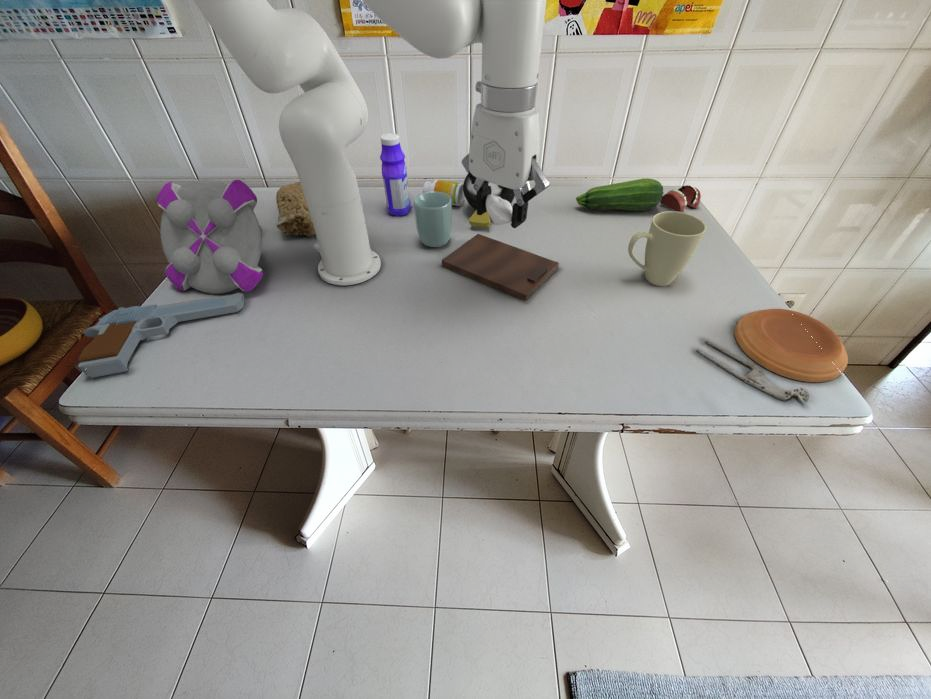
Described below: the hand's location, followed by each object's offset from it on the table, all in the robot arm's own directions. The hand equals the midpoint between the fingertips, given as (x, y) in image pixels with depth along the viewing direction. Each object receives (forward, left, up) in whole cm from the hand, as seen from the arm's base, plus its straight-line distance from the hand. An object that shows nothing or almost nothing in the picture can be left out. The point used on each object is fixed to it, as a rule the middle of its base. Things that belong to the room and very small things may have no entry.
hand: (500, 217), depth 70 cm
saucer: (+47, +15, -12) cm, 51 cm away
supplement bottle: (-26, +25, -13) cm, 38 cm away
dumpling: (0, 0, -1) cm, 1 cm away
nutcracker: (+43, +3, -15) cm, 45 cm away
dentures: (+16, +51, -12) cm, 54 cm away
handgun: (-33, -48, -14) cm, 60 cm away
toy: (-45, -30, -4) cm, 55 cm away
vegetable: (+6, +45, -15) cm, 47 cm away
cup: (-21, +7, -15) cm, 27 cm away
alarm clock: (-19, +25, -15) cm, 34 cm away
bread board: (-4, +7, -15) cm, 17 cm away
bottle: (-38, +14, -15) cm, 43 cm away
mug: (+23, +21, -16) cm, 35 cm away
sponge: (-54, -3, -15) cm, 56 cm away
